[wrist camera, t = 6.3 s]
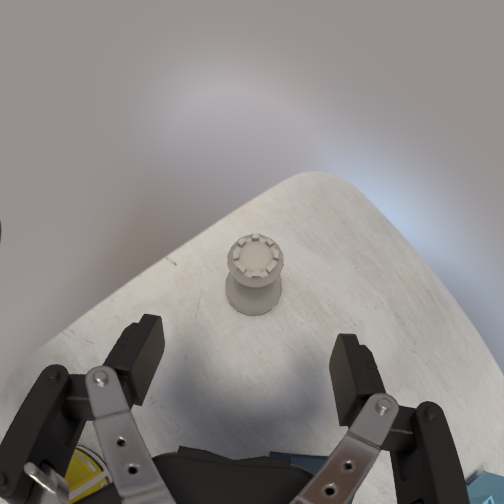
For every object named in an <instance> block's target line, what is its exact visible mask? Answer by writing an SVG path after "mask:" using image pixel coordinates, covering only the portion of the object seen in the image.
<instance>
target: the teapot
mask: <svg viewBox="0 0 504 504" xmlns="http://www.w3.org/2000/svg"><path fill="white" fill-rule="evenodd" d="M466 487H467V491H468V496H469V500H470V504H504V477H503V476H499V475H496V474H492V473H489V472H485V471H484V472H483V473H482V474H481V475H480V476H479V477H478V478H477V479H476V480H474V481H473V482H472V483H471V484H470V485H468V484H466Z"/></svg>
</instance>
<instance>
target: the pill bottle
mask: <svg viewBox="0 0 504 504" xmlns="http://www.w3.org/2000/svg"><path fill="white" fill-rule="evenodd" d="M64 479H65V480H66V481H67V483H68V485H69V489H70V493H69V501H70V504H72V503H74V502H75V501H77V500H79V499H81V498H83V497H85V496H87V495H89V494H91V493H93V492H95V491H97V490H99V489H100V488H102V487H104V486H106V485H108V484H109V483H111V482H112V478H111V475H110V473H109V471H108V469H107V467H106V466H105V464H104V463H103V462H102V461H101V459H100V458H99V457H98V456H96V455H95V454H94V453H92V452H91V451H89V450H88V449H86V448H83V447H81V446H76V448H75V450H74V453H73V456H72V458H71V461H70V464H69V466H68V469H67V472H66V475H65V478H64ZM0 504H9V503H7V502H6V501H5V500H4V499H2V498H0Z"/></svg>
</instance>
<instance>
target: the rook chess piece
mask: <svg viewBox="0 0 504 504" xmlns="http://www.w3.org/2000/svg"><path fill="white" fill-rule="evenodd" d="M283 265H284V264H283V254H282V252H281V250H280V247H279V245H277V244H276V243H275V242H274V241H273V240H272V239H271V238H269V237H266V236H263V235H260V234H251V235H248V236H245V237H242V238H240V239H239V240H238V241H237V242H235V243H234V244H233V245H232V247H231V249H230V251H229V253H228V268H229V270H230V272H229V274H228V276H227V279H226V295H227V297H228V300H229V302H230V304H231V305H232V306H233V307H234V308H236V309H237V310H238V311H240V312H242V313H245V314H247V315H260V314H263V313H265V312H267V311H270V310H271V309H272V308H273V307H274V306H275V305H276V304H277V302H278V300H279V297H280V295H281V290H282V287H281V278H280V276H279V275H280V273H281V271H282V268H283Z"/></svg>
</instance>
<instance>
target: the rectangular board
mask: <svg viewBox="0 0 504 504" xmlns="http://www.w3.org/2000/svg"><path fill="white" fill-rule="evenodd" d="M269 457H291V464H294V465H297V466H300V467H302V468H305V469H307V470H308V471H310V472H312V473H313V474H314V475H315V474H316V473H317V471H318V470H319V469H320V468H321V466H322V465H323V464H324V463H325V461H326V460H327V459H328V457H323V456H306V455H295V454H285V453H276V452H271V453H270V456H269ZM354 495H355V494H354ZM353 498H354V496H353V497H352V499H351V500H350V502H349V503H348V504H351V503H352V501H353Z"/></svg>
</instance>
